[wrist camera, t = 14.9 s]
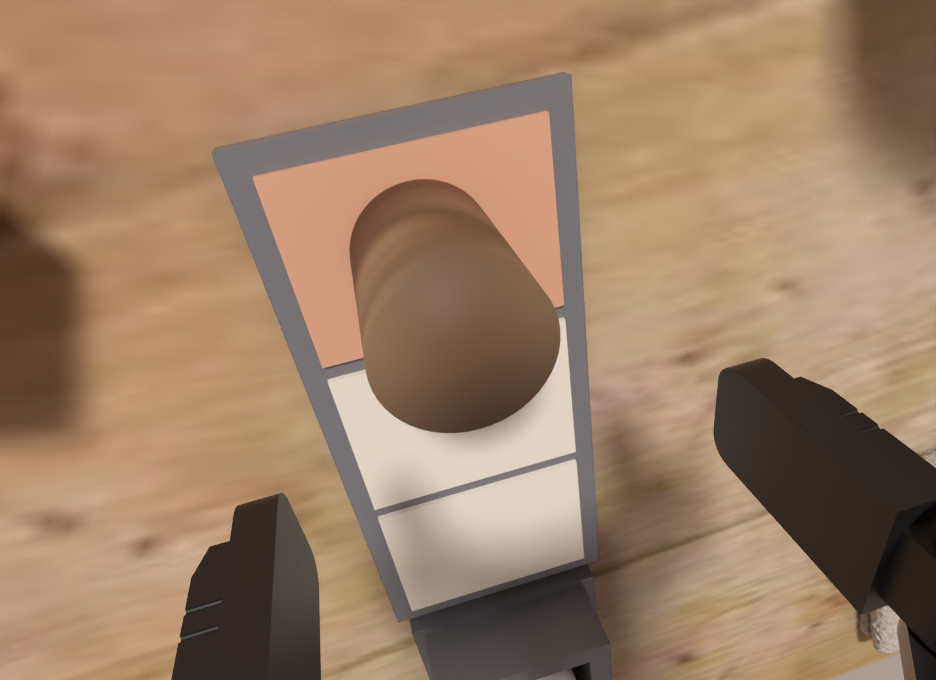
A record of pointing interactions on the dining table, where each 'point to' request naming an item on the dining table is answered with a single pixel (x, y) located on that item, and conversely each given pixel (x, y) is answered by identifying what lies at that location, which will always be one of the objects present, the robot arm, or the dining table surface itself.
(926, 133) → the dining table surface
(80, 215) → the dining table surface
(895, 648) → the washcloth
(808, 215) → the dining table surface
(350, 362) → the game board
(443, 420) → the brown cylinder
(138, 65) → the dining table surface
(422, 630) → the button base
